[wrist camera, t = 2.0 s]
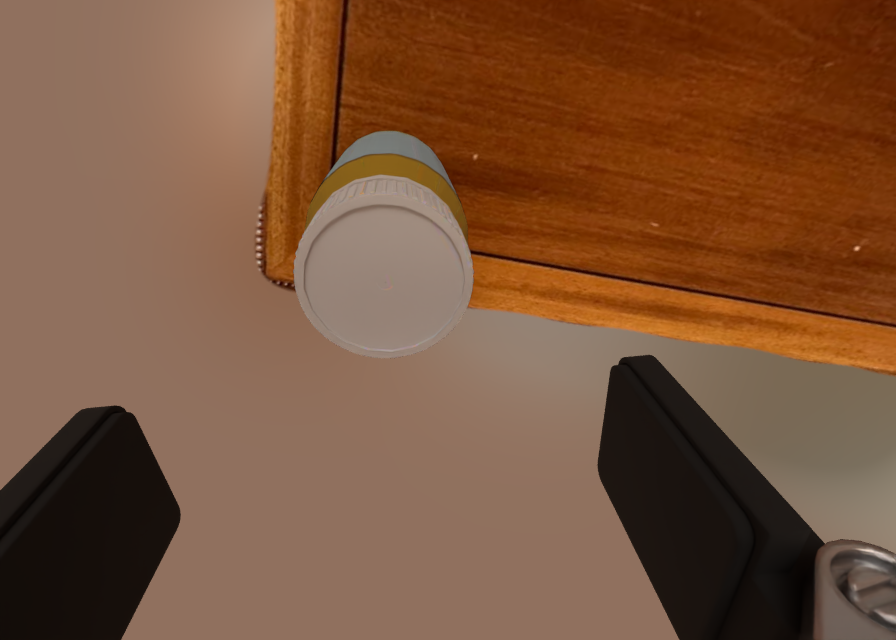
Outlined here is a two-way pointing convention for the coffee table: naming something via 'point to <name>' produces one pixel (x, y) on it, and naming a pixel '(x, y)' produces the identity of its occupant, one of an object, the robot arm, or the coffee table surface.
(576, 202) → the coffee table surface
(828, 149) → the coffee table surface
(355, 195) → the bottle
